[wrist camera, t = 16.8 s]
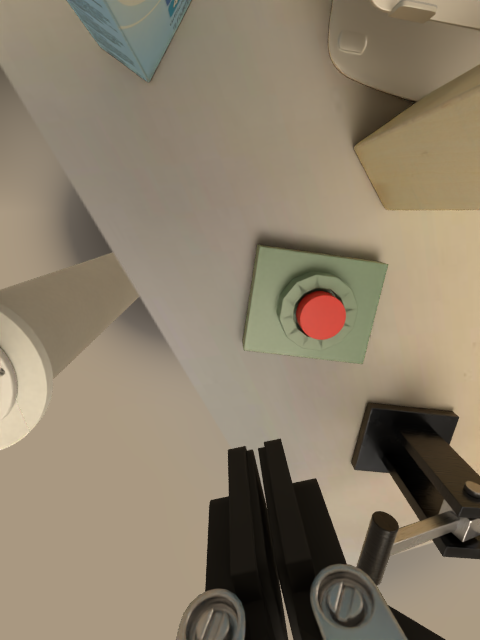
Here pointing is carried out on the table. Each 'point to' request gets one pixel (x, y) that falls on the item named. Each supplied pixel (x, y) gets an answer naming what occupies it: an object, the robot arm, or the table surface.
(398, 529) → the lever
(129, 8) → the gum box
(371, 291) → the button box
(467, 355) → the table surface
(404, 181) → the toy refrigerator
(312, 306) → the stop button
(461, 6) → the grey open cardboard box
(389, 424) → the bracket
